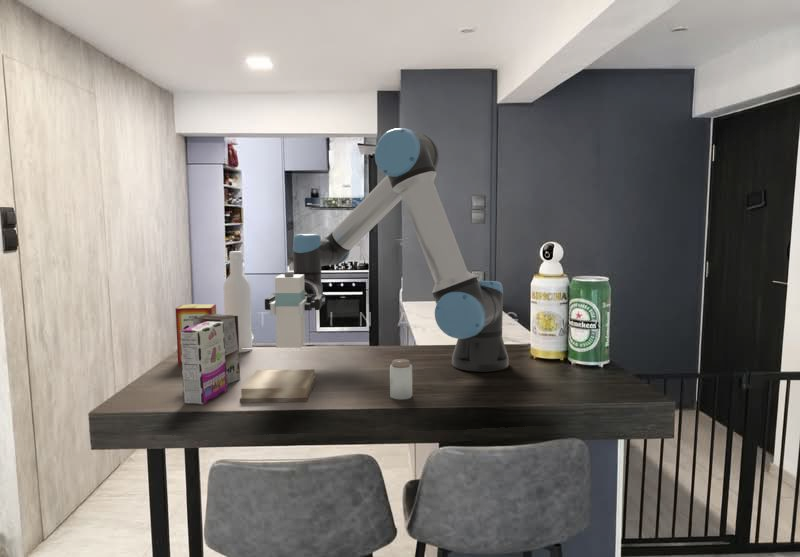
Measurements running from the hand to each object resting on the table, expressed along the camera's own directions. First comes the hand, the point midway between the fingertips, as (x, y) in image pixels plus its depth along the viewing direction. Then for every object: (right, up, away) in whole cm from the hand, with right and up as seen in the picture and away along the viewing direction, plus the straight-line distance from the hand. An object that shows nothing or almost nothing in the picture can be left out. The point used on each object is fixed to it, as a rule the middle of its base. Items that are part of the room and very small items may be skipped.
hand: (286, 309), depth 135 cm
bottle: (-24, -15, +49) cm, 56 cm away
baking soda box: (-31, -17, +35) cm, 50 cm away
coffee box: (-20, -19, +15) cm, 31 cm away
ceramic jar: (+26, -20, +1) cm, 32 cm away
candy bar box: (-18, -20, +1) cm, 27 cm away
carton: (0, -8, +6) cm, 10 cm away
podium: (-3, -19, +6) cm, 20 cm away
